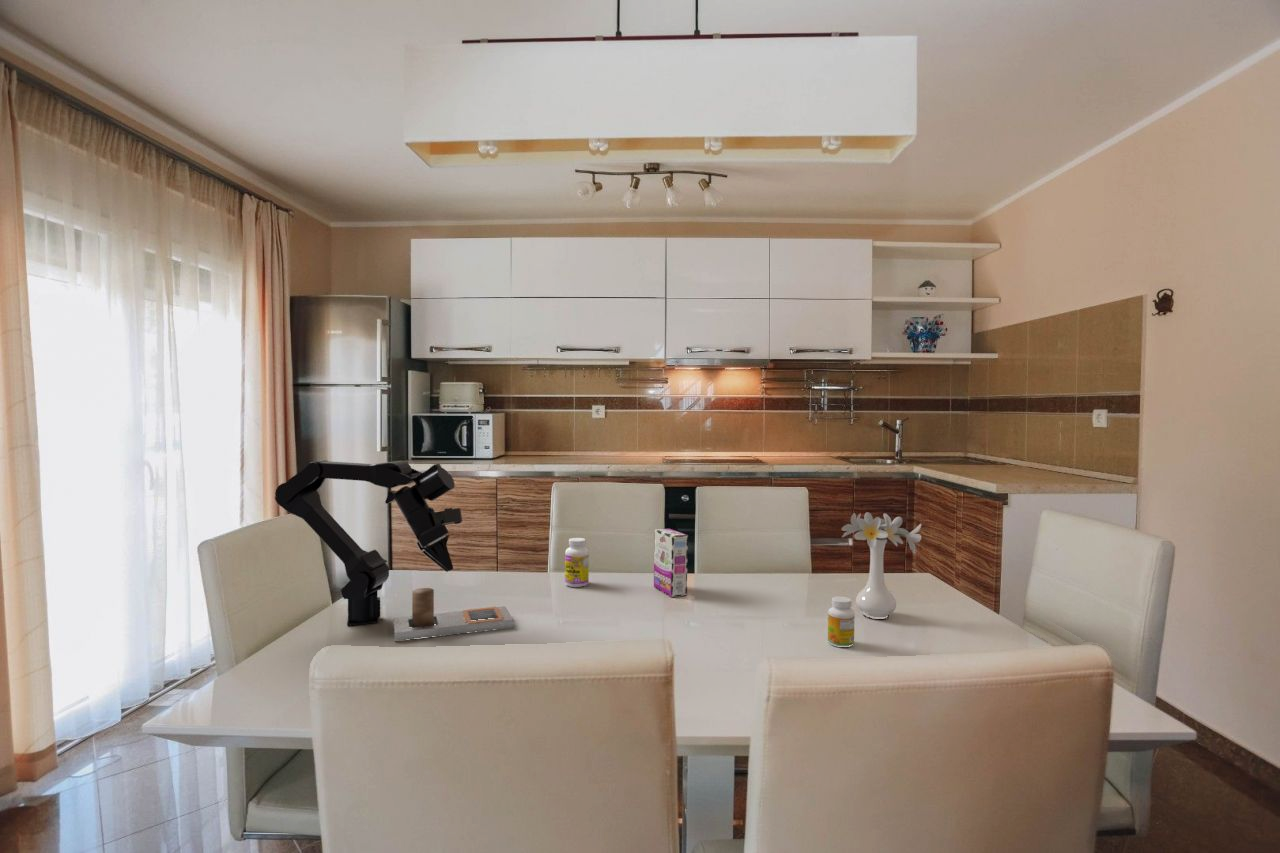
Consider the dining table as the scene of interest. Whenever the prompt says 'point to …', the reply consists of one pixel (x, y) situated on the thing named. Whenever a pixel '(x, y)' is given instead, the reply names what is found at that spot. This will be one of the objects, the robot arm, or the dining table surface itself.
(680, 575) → the candy bar box
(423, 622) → the walnut peg
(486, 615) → the gray peg socket board
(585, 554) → the supplement bottle
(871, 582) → the flower vase
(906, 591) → the dining table surface
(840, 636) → the supplement bottle
